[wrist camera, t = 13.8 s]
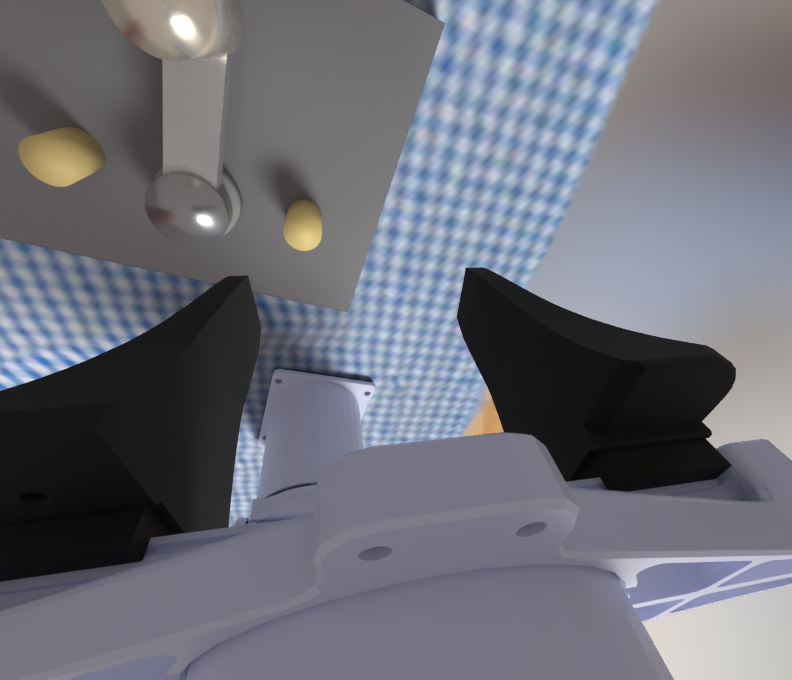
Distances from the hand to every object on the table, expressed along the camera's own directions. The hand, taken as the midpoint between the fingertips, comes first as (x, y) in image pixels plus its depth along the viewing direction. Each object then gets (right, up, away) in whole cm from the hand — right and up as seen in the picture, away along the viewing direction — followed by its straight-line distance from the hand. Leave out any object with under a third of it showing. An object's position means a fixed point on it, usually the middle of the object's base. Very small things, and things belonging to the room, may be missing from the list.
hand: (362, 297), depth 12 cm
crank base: (-8, +8, +4) cm, 13 cm away
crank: (-7, +7, +2) cm, 10 cm away
